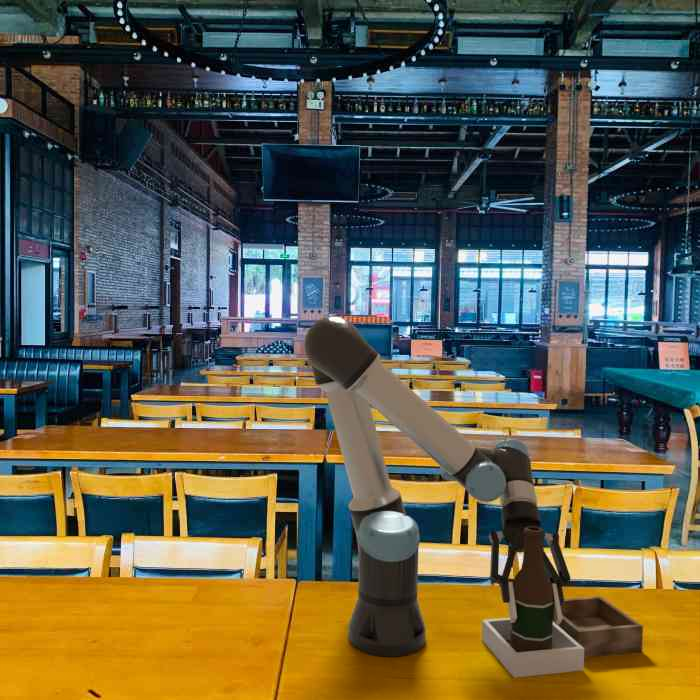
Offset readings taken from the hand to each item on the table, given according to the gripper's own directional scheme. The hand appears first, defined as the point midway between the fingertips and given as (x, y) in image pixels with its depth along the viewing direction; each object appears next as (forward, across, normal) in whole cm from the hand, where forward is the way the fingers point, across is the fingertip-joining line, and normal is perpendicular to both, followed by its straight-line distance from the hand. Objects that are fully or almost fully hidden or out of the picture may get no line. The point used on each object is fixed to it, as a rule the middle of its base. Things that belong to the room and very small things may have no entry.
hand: (536, 620), depth 115 cm
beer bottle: (+3, 0, -8) cm, 9 cm away
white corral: (+3, 0, -8) cm, 9 cm away
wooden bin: (-2, -13, -14) cm, 19 cm away
